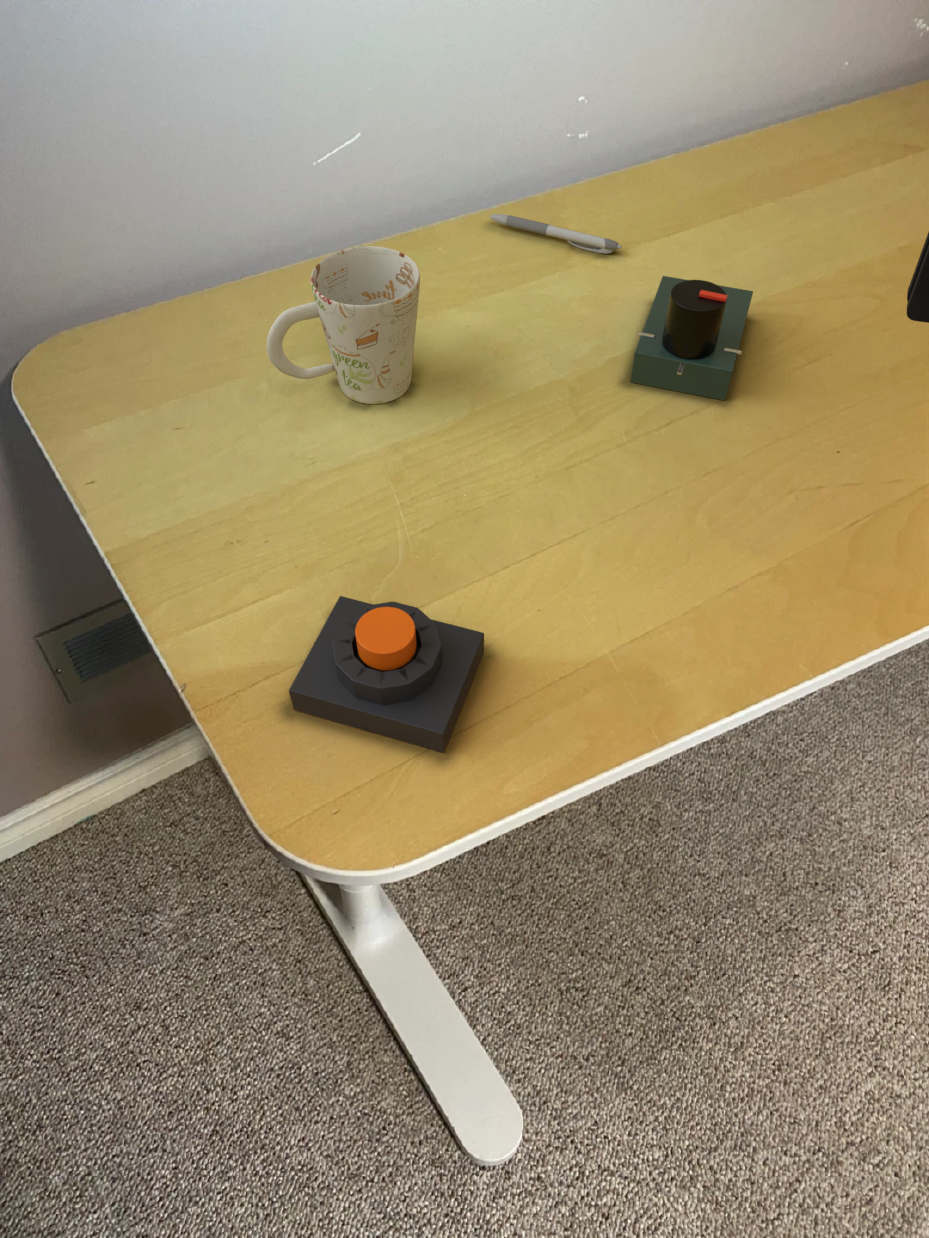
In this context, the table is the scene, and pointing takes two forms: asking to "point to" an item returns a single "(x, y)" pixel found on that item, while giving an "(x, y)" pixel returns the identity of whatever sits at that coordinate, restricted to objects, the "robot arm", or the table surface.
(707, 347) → the dial
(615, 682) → the table surface
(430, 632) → the push button box
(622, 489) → the table surface
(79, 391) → the table surface
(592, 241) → the pen
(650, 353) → the dial panel
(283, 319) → the mug
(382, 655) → the round orange button
